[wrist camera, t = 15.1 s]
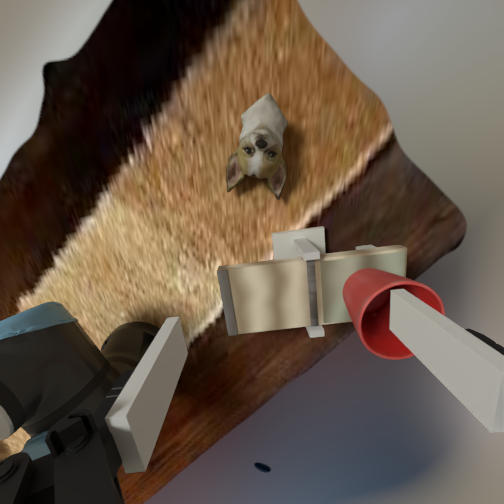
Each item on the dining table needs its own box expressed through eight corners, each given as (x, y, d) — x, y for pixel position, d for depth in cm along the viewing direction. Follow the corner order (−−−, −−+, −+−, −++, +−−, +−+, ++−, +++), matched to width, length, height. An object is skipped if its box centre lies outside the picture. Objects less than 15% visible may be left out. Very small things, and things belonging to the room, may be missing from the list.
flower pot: (401, 254, 37) (451, 277, 27) (397, 316, 40) (441, 357, 30) (332, 260, 37) (359, 286, 28) (333, 322, 40) (358, 364, 31)
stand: (280, 314, 51) (288, 348, 41) (271, 233, 46) (278, 247, 36) (370, 303, 51) (403, 334, 40) (371, 219, 46) (408, 230, 35)
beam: (229, 327, 44) (228, 336, 41) (219, 266, 40) (216, 271, 38) (396, 309, 42) (405, 317, 40) (398, 244, 39) (408, 248, 36)
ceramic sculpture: (307, 95, 32) (286, 205, 37) (297, 110, 41) (280, 198, 46) (230, 82, 32) (219, 194, 37) (235, 100, 40) (225, 190, 45)
